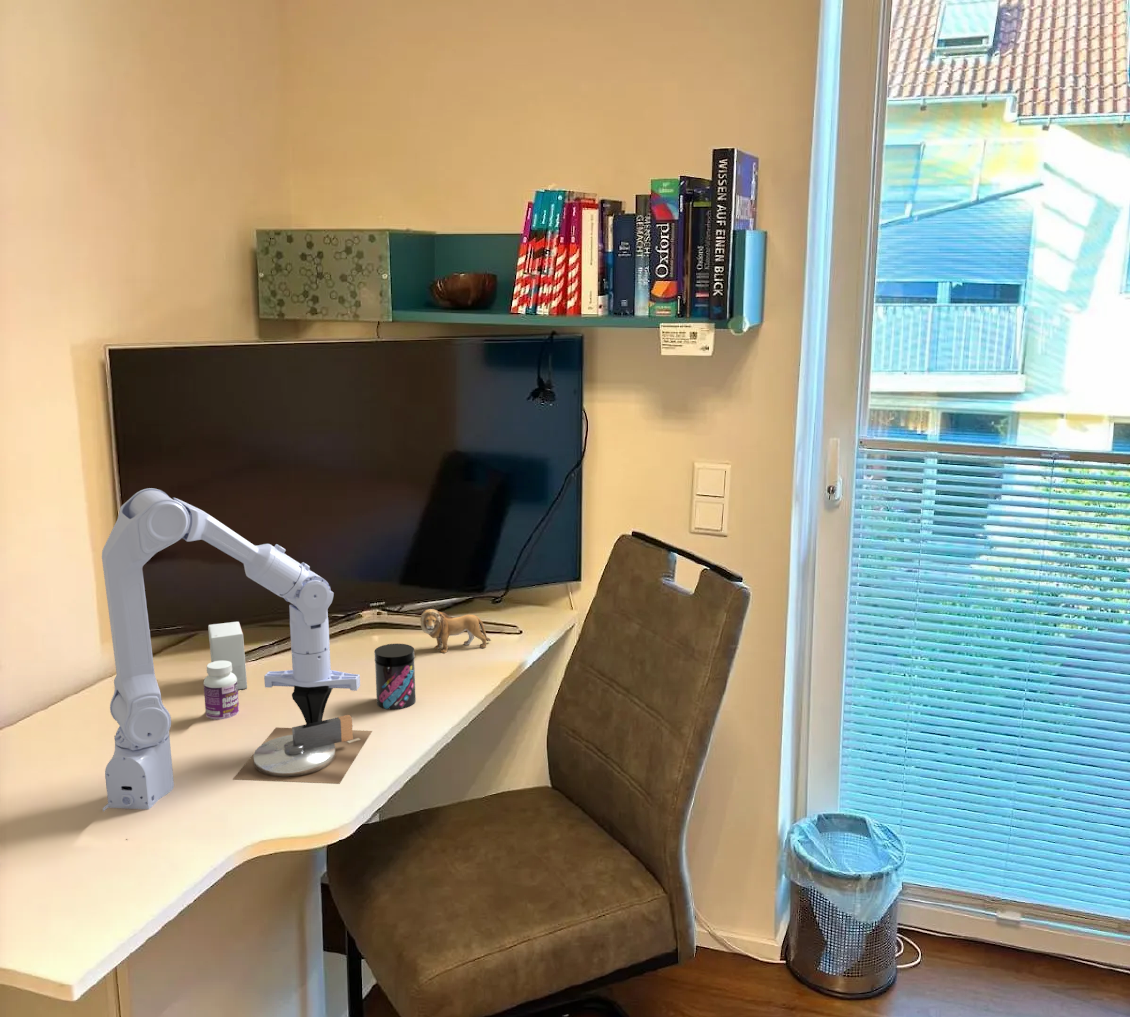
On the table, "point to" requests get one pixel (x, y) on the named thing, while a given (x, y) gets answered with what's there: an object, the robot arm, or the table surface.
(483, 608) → the table surface
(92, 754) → the table surface
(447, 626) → the lion figurine
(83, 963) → the table surface
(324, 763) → the dial
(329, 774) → the dial board
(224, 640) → the small box
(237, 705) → the pill bottle
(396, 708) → the supplement container
